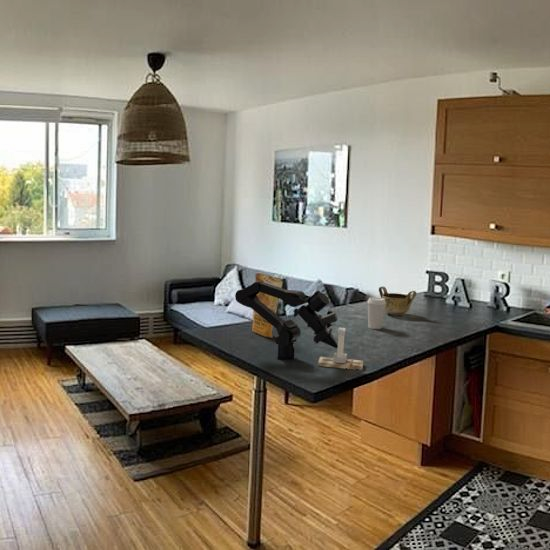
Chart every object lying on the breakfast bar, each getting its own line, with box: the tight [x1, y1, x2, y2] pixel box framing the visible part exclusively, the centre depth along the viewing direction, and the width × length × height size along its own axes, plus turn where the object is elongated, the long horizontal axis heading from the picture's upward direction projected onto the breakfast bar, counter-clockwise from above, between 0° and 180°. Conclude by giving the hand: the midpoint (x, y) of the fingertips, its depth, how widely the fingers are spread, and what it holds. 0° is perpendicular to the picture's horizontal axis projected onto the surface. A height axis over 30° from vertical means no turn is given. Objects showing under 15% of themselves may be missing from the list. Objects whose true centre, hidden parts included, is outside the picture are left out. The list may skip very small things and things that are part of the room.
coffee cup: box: [366, 296, 386, 330], centre depth 311 cm, size 10×10×15 cm
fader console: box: [317, 356, 364, 371], centre depth 245 cm, size 18×8×2 cm, turn 80°
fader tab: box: [332, 326, 348, 363], centre depth 244 cm, size 5×7×13 cm
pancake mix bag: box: [251, 272, 284, 338], centre depth 287 cm, size 7×19×28 cm, turn 36°
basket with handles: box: [378, 286, 417, 317], centre depth 346 cm, size 22×17×15 cm
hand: (337, 347), depth 244 cm, fingers closed, pressing on fader tab
